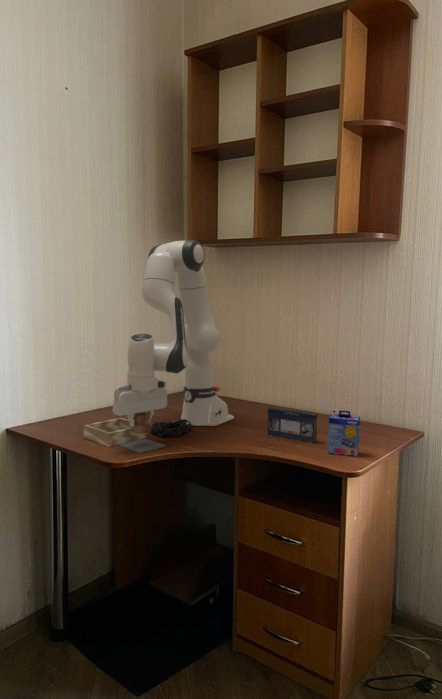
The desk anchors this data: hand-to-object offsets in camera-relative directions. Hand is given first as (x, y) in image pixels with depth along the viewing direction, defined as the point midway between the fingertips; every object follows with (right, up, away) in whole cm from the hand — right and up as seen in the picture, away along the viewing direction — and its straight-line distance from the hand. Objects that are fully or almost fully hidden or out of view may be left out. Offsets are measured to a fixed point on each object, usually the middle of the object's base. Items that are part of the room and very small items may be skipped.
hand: (140, 424), depth 181 cm
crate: (-10, -6, +11) cm, 16 cm away
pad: (+1, -7, +1) cm, 7 cm away
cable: (+8, -6, +20) cm, 22 cm away
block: (0, -2, 0) cm, 2 cm away
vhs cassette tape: (+52, -7, +13) cm, 54 cm away
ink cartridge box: (+66, -9, -3) cm, 67 cm away
